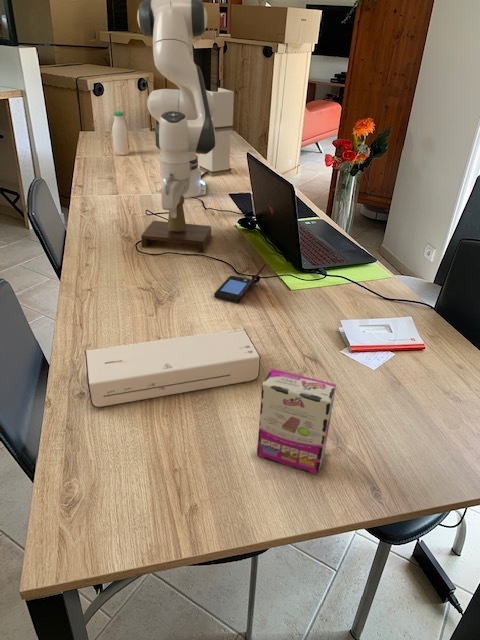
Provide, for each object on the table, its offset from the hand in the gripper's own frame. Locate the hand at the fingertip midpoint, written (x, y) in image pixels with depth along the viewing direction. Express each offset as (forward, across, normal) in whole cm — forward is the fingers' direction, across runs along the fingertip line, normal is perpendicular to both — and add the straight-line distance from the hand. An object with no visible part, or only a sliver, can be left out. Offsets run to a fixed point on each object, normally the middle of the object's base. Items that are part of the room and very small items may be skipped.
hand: (176, 214), depth 156 cm
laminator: (+10, -67, -16) cm, 70 cm away
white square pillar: (+10, +83, +3) cm, 84 cm away
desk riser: (+10, 0, 0) cm, 10 cm away
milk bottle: (+10, +101, +55) cm, 115 cm away
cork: (+5, 0, 0) cm, 5 cm away
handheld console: (+10, -29, -25) cm, 40 cm away
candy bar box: (+10, -85, -42) cm, 95 cm away
